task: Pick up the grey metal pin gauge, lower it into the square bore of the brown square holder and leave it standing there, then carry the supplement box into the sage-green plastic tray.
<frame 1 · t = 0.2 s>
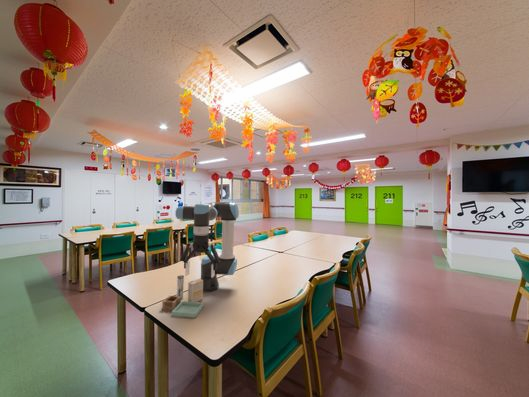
hand: (200, 275, 103), 28 cm above the table, fingers open, 13 cm apart
tray: (188, 311, 120), on the table
brown square holder: (171, 307, 124), on the table
pin gauge: (179, 299, 134), on the table
supplement box: (195, 301, 132), on the table
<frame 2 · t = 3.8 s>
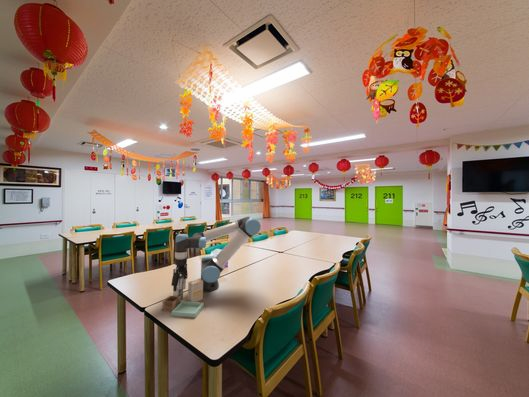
hand: (179, 292, 133), 5 cm above the table, fingers open, 10 cm apart
nothing on the table moved.
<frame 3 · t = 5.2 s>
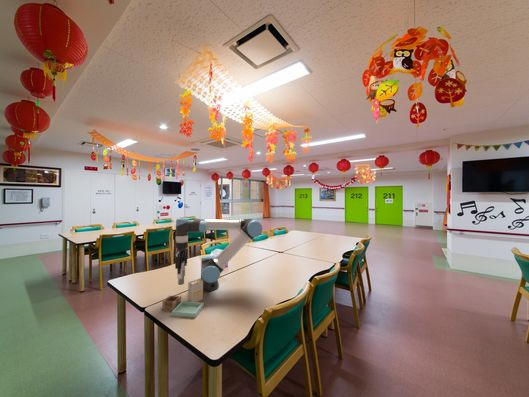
hand: (181, 276, 134), 15 cm above the table, fingers closed on pin gauge, 4 cm apart
pin gauge: (180, 283, 134), point 10 cm above the table, touching gripper
everything else where it was.
when the fingers open (6 cm above the table, at t = 9.4 s): pin gauge drops 1 cm, resting in brown square holder.
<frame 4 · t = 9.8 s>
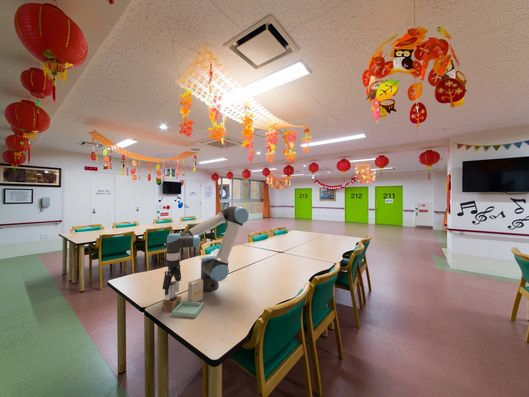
hand: (172, 295, 124), 7 cm above the table, fingers open, 10 cm apart
pin gauge: (171, 307, 124), resting in brown square holder
everything else where it was.
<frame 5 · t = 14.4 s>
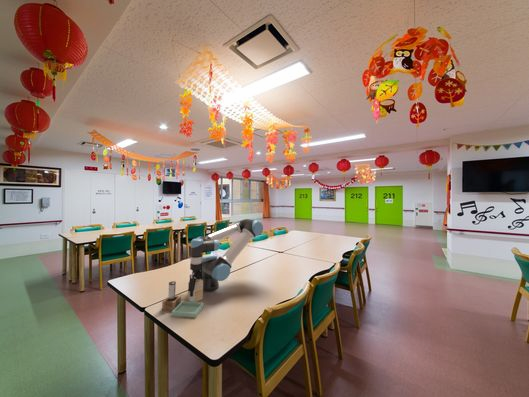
hand: (195, 297, 132), 3 cm above the table, fingers closed on supplement box, 9 cm apart
supplement box: (195, 301, 132), on the table, touching gripper
everything else where it was.
when the fingers open (5 cm above the table, at t = 20.2 s): supplement box drops 2 cm, resting on tray.
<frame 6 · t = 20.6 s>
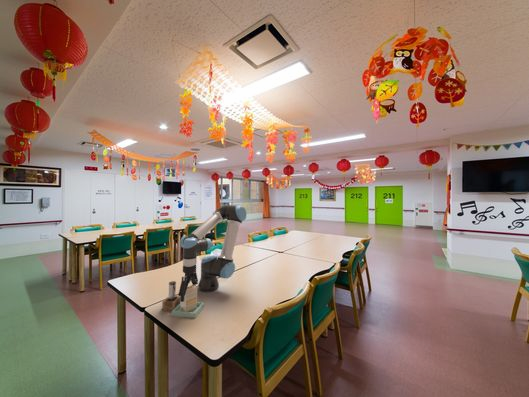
hand: (188, 300, 120), 6 cm above the table, fingers open, 13 cm apart
supplement box: (188, 310, 120), resting on tray
everything else where it was.
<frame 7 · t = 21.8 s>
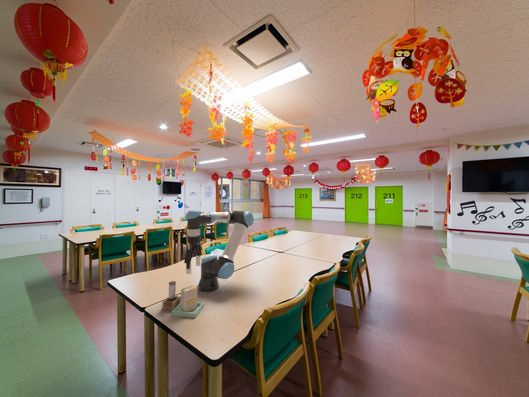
hand: (193, 269, 125), 23 cm above the table, fingers open, 13 cm apart
nothing on the table moved.
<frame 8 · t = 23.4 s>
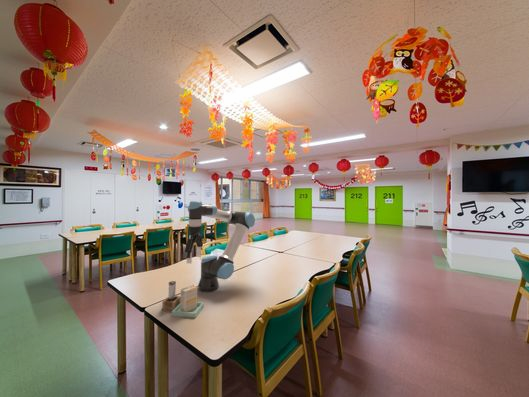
hand: (194, 259, 126), 29 cm above the table, fingers open, 13 cm apart
nothing on the table moved.
at the end: pin gauge 0.2 cm off-centre on the brown square holder, point 0.0 cm above the brown square holder's base; pin gauge tilted 1°; supplement box inside the target area on the tray (0.4 cm from its centre), point 0.4 cm above the tray's base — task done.
